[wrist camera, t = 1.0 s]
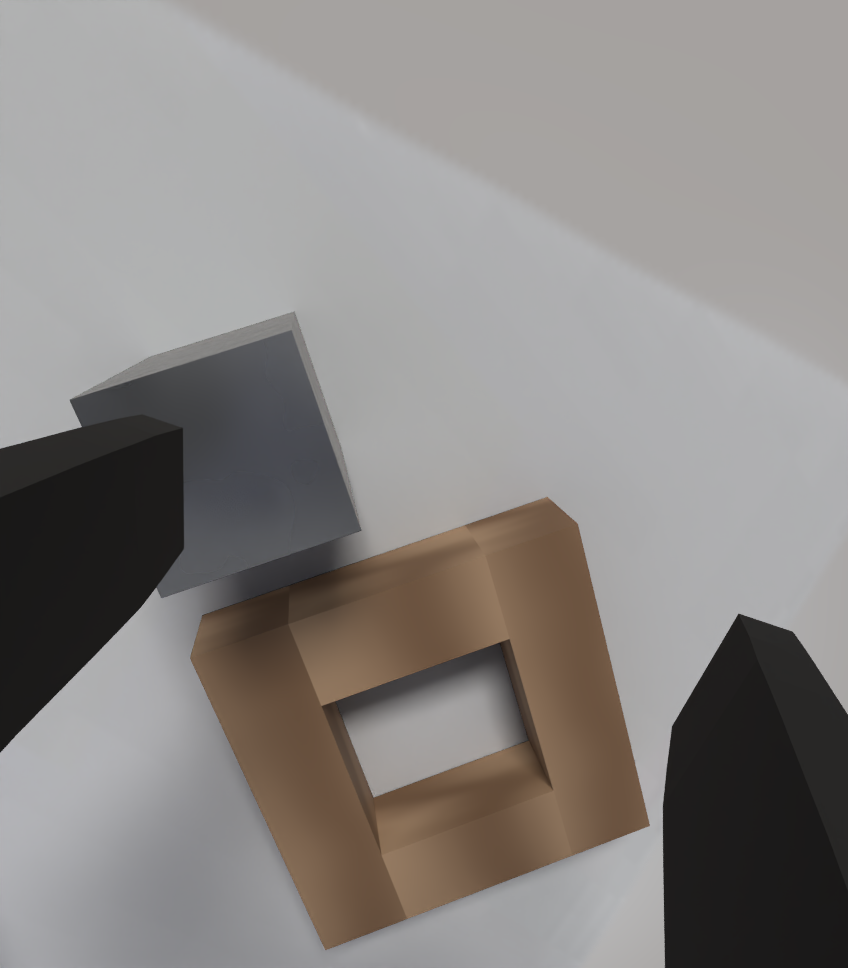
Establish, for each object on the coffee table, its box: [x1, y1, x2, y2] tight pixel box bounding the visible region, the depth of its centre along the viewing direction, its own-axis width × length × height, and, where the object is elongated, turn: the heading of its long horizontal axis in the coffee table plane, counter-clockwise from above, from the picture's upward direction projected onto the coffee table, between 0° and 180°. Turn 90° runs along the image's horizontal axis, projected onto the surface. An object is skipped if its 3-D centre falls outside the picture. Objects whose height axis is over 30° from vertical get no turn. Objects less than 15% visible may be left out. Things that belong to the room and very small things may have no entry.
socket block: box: [190, 497, 650, 950], centre depth 22 cm, size 11×11×2 cm
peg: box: [70, 312, 361, 598], centre depth 16 cm, size 4×4×7 cm
